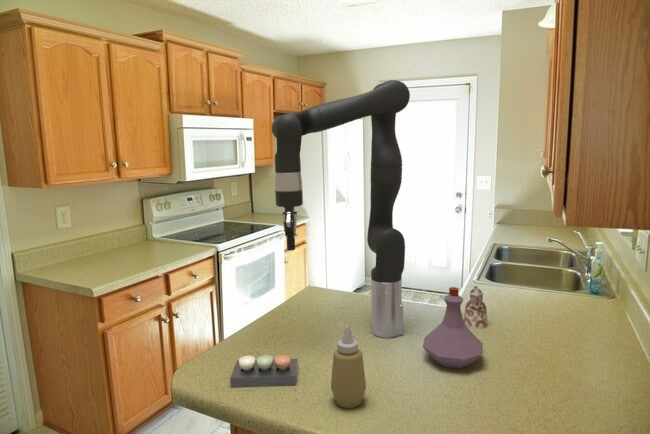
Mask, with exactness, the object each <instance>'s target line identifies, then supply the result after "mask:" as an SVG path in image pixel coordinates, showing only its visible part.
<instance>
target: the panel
mask: <svg viewBox="0 0 650 434" xmlns="http://www.w3.org/2000/svg"><path fill="white" fill-rule="evenodd" d="M290 360H291V365H290V366H288V367H287V370H279V368H278V367H276V366H275V358H273V365H272V366H271V367H270V371H261V368H259V367H257V359H255V366H254V367H253V368H252V371H244V372H243V369H242V368H240V367H239V359H237V360H236V362H235V365H234V367H233V370H232V372H231V375H230V377H229V379H230V387H231V388H241V387H242V388H245V387H246V388H247V387H278V386H280V387H281V386H297V379H298V369H299V361H298V358H290Z"/></svg>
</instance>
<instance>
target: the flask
mask: <svg viewBox="0 0 650 434" xmlns="http://www.w3.org/2000/svg"><path fill="white" fill-rule="evenodd" d="M448 291H449V294H447V295H444V297H443V299H444V302H445V304H446V307H445V308H446V309H445V312H444V316H443V319H442V321H441V323H440V324H438V326H436V327H435V328H434V329H433V330H431V331H430V333H428V334H427V335H426V336H425V337H424V340H423V343H422V348H423V350H425V351H426V352H427V354H428V355H429V356H430V357H431V358H432V360H434V361H435V362H437V363H438V364H439V365H441V366H442V367H444V368H451V369H458V370H459V369H462V368H464V367H468V366H470V365H471V364H473V363H474V362H475V361H476V360H478V359H479V358H480V357H481V356H482V355H483V354H484V347H483V344H484V343H483V342H482V341H481V340H480V339H479V338H478V337H477V336H476V335H475V334H474V333H473V332H472V331H471V330H470V329H469V327H468V326H466V325H465V324H464V316H463V313H462V310H461V305H462V304H463V302H464V298H463V297H462V296H460V295H459V287H455V286H451V287H449V288H448Z"/></svg>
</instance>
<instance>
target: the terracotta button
mask: <svg viewBox="0 0 650 434" xmlns="http://www.w3.org/2000/svg"><path fill="white" fill-rule="evenodd" d="M274 359H275V366H276V367H278V368H279V370H287V367H288V366H290V365H291V360H290V359H291V356H290V355H288V354H279V355H277V356H275V357H274Z"/></svg>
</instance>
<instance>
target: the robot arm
mask: <svg viewBox="0 0 650 434" xmlns="http://www.w3.org/2000/svg"><path fill="white" fill-rule="evenodd" d="M410 96H411V94H410V90H409V88H408V86H407V85H406V84H405V83H404V82H402V81H400V80H397V79H390V80H387V81H384V82H381V83H378V84H377V85H375V87H374V88H373V89H372V90H369V91H367V92H365V93H360V94H358V95H354V96H350V97H346V98H342V99H341V98H340V99H335V100H332V101H328V102H324V103H321V104H316V105H314V106H311V107H309V108H305V109H304V110H300V111H296V112H291V113H285V114H281V115H279V116H277V117H276V118H275V119H274V120H273V122H272V124H271V132H272V135H273V136H274V138H275V139H276V153H275V155H274V169H275V170H274V190H275V192H274V195H275V205H276V207H278V208H284V211H283V212H282V214H281V216H282V217H281V218H282V220H283V230H284V236H285V237H286V250H287V251H295V250H296V231H297V225H298V224H297V222H298V221H297V219H298V211H295V208H296V207H300V206H303V205H304V200H303V199H304V198H303V178H302V169H301V166H302V165H301V163H302V162H301V148H302V139H303V138H302V137H303V136H306V135H308V134H313V133H314V134H316V133H319V132H324V131H326V130H331V129H333V128H337V127H339V126H342V125H345V124H348V123H350V122H353V121H357V120H360V119H363V118H367V117H370V118H371V119H370V121H371V147H370V148H371V150H370V153H371V155H370V207H369V208H370V212H369V220H368V229H367V237H366V241H367V245H368V248H369V250H370V251H371V252H373V254H375V265H374V267H372V269H371V270H370V271H371V272H370V285H371V286H370V292H371V293H370V295H371V296H370V297H371V299H370V300H371V302H370V303H371V305H370V306H371V324H370V325H371V326H370V327H371V333H372V334H373V335H374V336H376V337H379V338H385V339H387V338H388V339H389V338H396V337H399V336H403V335H404V305H403V303H402V302H403V301H402V298H403V297H402V289H403V288H402V287H403V286H402V284H403V283H402V281H403V280H402V277H403V276H402V275H403V273H404V270H405V259H406V257H405V256H406V241H405V237H404V235H403V233H402V232H401V231H400V230H398V229H396V228H394V226H393V225H394V223H393V219H394V218H393V210H394V205H395V203H396V200H397V198H398V195H399V192H400V189H401V187H402V186H401V185H402V180H403V157H402V153H401V150H400V146H399V143H398V139H397V135H396V117H397V114H398V113H400V112H402V111H403V110H405V109H406V107H407V106H408V104H409V102H410Z"/></svg>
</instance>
